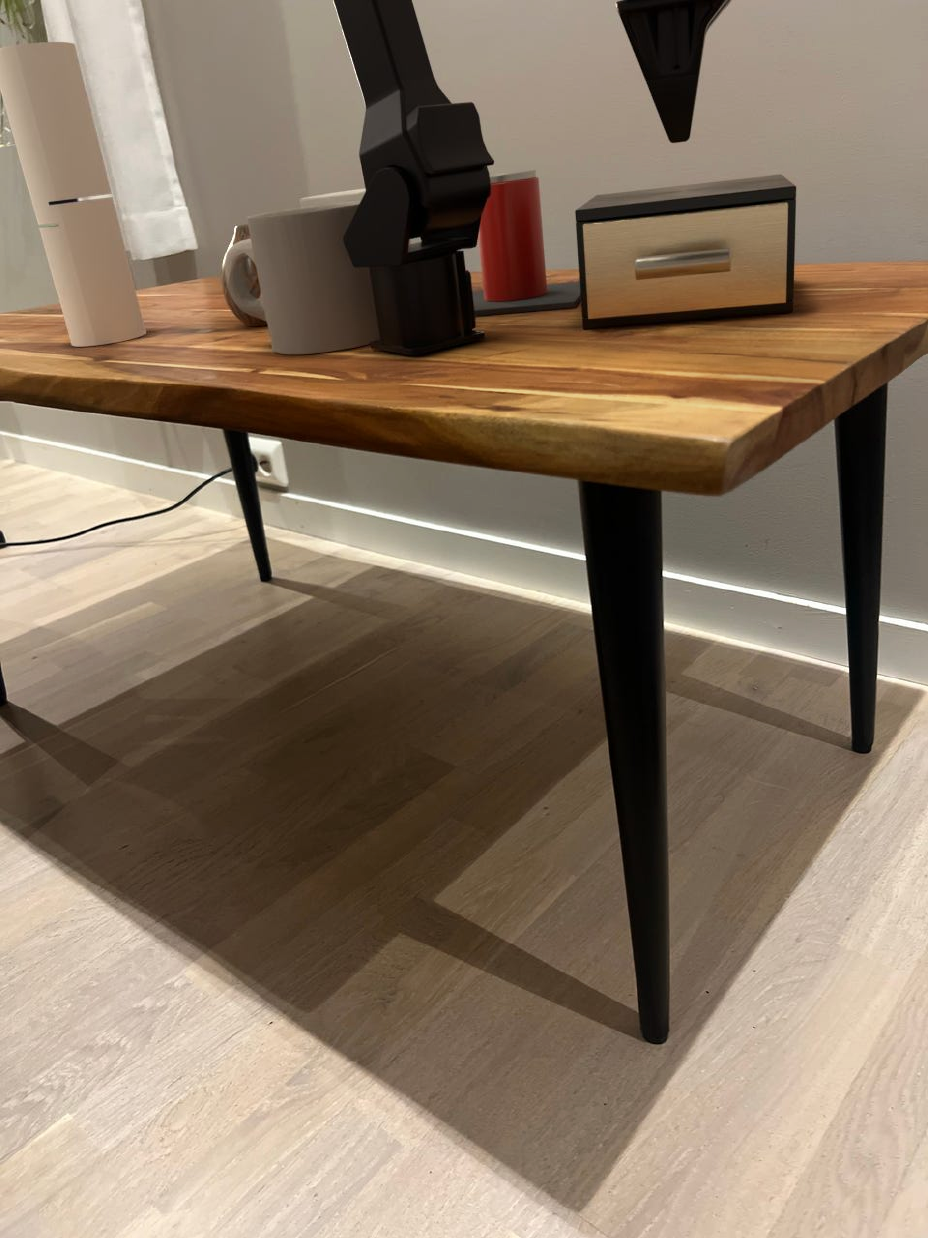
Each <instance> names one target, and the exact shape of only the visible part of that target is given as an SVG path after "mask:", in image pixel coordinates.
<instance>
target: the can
mask: <svg viewBox="0 0 928 1238" xmlns="http://www.w3.org/2000/svg"><path fill="white" fill-rule="evenodd" d="M536 171H537V170H536V169H524V170H523V169H522V170H515V171H505V172H500V173H492V174H491V173H490V181H491V195H490V197H489V198H487V202H486V205H485V208H484V211H483V213H482V217H481V223H480V229H479V235H478V241H477V243H478V250H479V251H478V252H479V260H480V269H481V280H482V290H484V299H485V300H486V301H489V302H508V301H518V300H525V299H531V298H535V297H539V296H542V295H545V294H546V293H547V284H548V283H547V281H548V280H547V270H546V255H545V243H544V229H543V218H542V217H543V216H542V203H541V191H540V179H539V177H538V176H537V172H536Z"/></svg>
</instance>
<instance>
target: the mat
mask: <svg viewBox="0 0 928 1238" xmlns="http://www.w3.org/2000/svg"><path fill="white" fill-rule="evenodd" d="M472 292H473V301H474V311H475V317H481V316H482V317H484V316H493V315H494V316H495V315H505V314H516V313H528V312H540V311H551V310H553V311H554V310H564V309H574V308H575V309H576V308H577V306H578V304H579V303H581V295H580V280H578V281H577V280H576V281H567V282H565V281H564V282H556V283H555V282H554V283H547V293H546V294H545V295H542V296H539V297H535V298H531V299H525V300H518V301H508V302H489V301H486V300H485V299H484V290H483V289H480V290H472Z"/></svg>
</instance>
